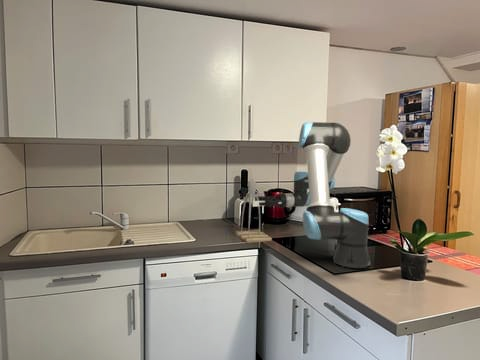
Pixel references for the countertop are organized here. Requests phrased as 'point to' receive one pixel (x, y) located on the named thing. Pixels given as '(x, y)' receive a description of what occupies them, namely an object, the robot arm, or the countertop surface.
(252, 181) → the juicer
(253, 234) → the trivet
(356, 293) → the countertop surface
